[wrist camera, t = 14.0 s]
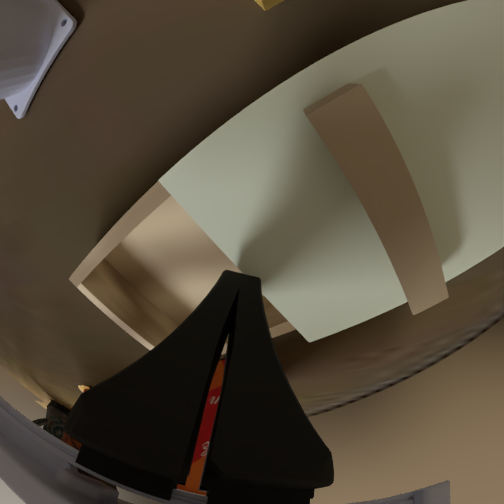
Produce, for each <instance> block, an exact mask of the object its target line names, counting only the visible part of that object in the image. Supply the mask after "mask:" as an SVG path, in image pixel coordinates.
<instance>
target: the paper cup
mask: <svg viewBox="0 0 504 504" xmlns="http://www.w3.org/2000/svg"><path fill="white" fill-rule="evenodd" d="M224 365H225V359H222V360H219V362H218V365H217V368H216V371H215V374H214V377H213V380H212V383H211V386H210V389H209V393H208V397H207V401H206V405H205V410H204V414H203V418H202V422H201V426H200V431H199V435H198V439H197V443H196V448H195V452H194V456H193V461H192V465H191V470H190V474H189V476H187V480H186V484H185V486H184V485H180V484H178V485H177V490H181V491H184V492H188V493H193V494H197V495H201V496H206V492H204V491H199V490H198V489H199V484H200V480H201V476H202V471H203V467H204V463H205V458H206V454H207V450H208V445H209V441H210V437H211V432H212V428H213V424H214V419H215V415H216V411H217V406H218V402H219V397H220V393H221V387H222V381H223V373H224Z"/></svg>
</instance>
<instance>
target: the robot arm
mask: <svg viewBox="0 0 504 504" xmlns="http://www.w3.org/2000/svg"><path fill="white" fill-rule="evenodd" d="M66 21H67V23H66ZM65 23H66V25H65ZM76 25H77V21H76V19H75V18H74V17H73V16H72V15H71V14H70V13H69V12H68V11H67V10H66V9H65V8H64V7H63V6H62V5H61V4H60V3H59V2H58V1H57V0H0V100H1V99H4V98H5V100H6V102H7V103H8V105H9V106H10V108H11V109H12V111H13V113H14V114H15V116H16V117H17V118H18V119H20V118H23V117H24V116H25V113H26V111H27V109H28V107H29V105H30V103H31V101H32V99H33V97H34V95H35V93H36V91H37V89H38V87H39V85H40V83H41V81H42V79H43V78H44V76H45V74H46V72H47V71H48V69H49V67H50V66H51V64H52V62H53V61H54V59H55V57H56V56H57V54H58V53H59V51H60V50H61V48H62V47H63V45H64V44H65V42H66V41H67V39H68V38H69V37H70V35H71V34H72V33H73V31H74V30H75V28H76ZM228 334H229V335H228ZM227 337H228V342H227V350H226V357H225V365H224V373H223V381H222V387H221V393H220V397H219V402H218V406H217V411H216V415H215V419H214V424H213V428H212V432H211V437H210V441H209V445H208V450H207V454H206V458H205V463H204V467H203V471H202V476H201V480H200V484H199V489H198V490H199V491H204V492H206V496H201V495H197V494H193V493H188V492H184V491H181V490H177V485H178V484H180V485H184V486H185V484H186V480H187V476H189V474H190V470H191V465H192V461H193V456H194V452H195V448H196V443H197V439H198V435H199V431H200V426H201V422H202V418H203V414H204V410H205V405H206V401H207V397H208V393H209V389H210V386H211V383H212V380H213V377H214V374H215V371H216V368H217V365H218V362H219V360H220V357H221V354H222V351H223V348H224V345H225V342H226V340H227ZM63 429H64V431H65V433H66V434H68V435H69V436H71V437H72V438H74V439H75V440H77V441H78V442H80V443H81V444H82V445H81V448H80V450H77V449H75V448H73V447H71V446H70V445H68V444H66V443H65V442H63V441H61V440H59V439H58V438H56V437H55V436H53V435H51V434H50V433H48V432H47V431H45V430H44V429H42V428H41V427H39V426H38V425H36V424H35V423H33V422H32V421H31V420H29V419H27V418H26V417H25V416H24V415H22V414H21V413H20V412H18V411H17V410H15V409H14V408H13V407H12V406H11V405H10V404H9V403H8V402H6V401H5V400H4V399H3V398H2V397H0V478H1V479H2V480H3V481H4V482H5V483H6V484H7V486H8V487H9V488H10V489H11V490H12V491H13V492H14V493H15V494H16V495H18V497H20V499H22V500H23V501H24V502H25V503H26V504H132V503H129V502H127V501H124V500H121V499H118V495H119V492H118V491H117V490H115V489H113V488H111V487H109V486H107V485H106V484H104V483H102V482H100V481H97V480H95V479H93V478H90V477H88V476H85V475H83V474H80V473H79V472H78V470H77V467H78V468H80V469H82V470H83V471H85V472H87V473H89V474H91V475H93V476H95V477H97V478H99V479H102V480H104V481H106V482H108V483H110V484H113V485H115V486H118V487H120V488H122V489H125V490H127V491H130V492H132V493H135V494H138V495H141V496H143V497H147V498H149V499H152V500H155V501H159V502H162V503H165V504H310V499H312V498H313V497H314V489H316V488H322V487H326V486H330V485H331V484H332V483H333V481H334V469H333V460H332V455H331V452H330V450H329V449H328V447H327V446H326V445H325V443H324V442H323V441H322V439H321V438H320V436H319V435H318V433H317V432H316V430H315V429H314V427H313V426H312V424H311V423H310V421H309V419H308V418H307V416H306V414H305V413H304V411H303V409H302V407H301V405H300V403H299V402H298V400H297V398H296V396H295V394H294V392H293V390H292V388H291V386H290V384H289V382H288V380H287V377H286V375H285V373H284V371H283V368H282V366H281V363H280V361H279V358H278V355H277V352H276V350H275V347H274V343H273V340H272V337H271V334H270V330H269V326H268V322H267V318H266V314H265V309H264V303H263V297H262V288H261V279H260V278H259V277H255V276H251V275H247V274H243V273H238V272H234V271H230V270H225V271H223V272H222V274H221V276H220V278H219V279H218V281H217V282H216V284H215V285H214V286H213V288H212V289H211V290H210V292H209V293H208V294H207V296H206V297H205V298H204V299H203V300H202V302H201V303H200V304H199V305H198V306H197V307H196V309H195V310H194V311H193V312H192V313H191V314H190V315H189V316H188V317H187V318H186V319H185V320H184V321H183V322H182V323H181V324H180V325H179V326H178V327H177V328H176V329H175V330H174V331H173V332H172V333H171V334H170V335H169V336H167V337H166V338H165V339H164V340H163V341H162V342H160V343H159V344H158V345H157V346H155V347H154V348H153V349H152V350H150V351H149V352H148V353H147V354H145V355H144V356H143V357H141V358H140V359H138V360H137V361H136V362H134V363H133V364H131V365H130V366H128V367H126V368H125V369H123V370H122V371H120V372H119V373H117V374H116V375H114V376H112V377H111V378H109V379H107V380H105V381H103V382H101V383H100V384H98V385H96V386H94V387H92V388H90V389H88V390H86V391H84V392H83V393H82V394H81V395H80V397H79V398H78V400H77V401H76V403H75V404H74V406H73V407H72V409H71V411H70V414H69V416H68V418H67V421H66V423H65V425H64V428H63ZM349 504H450V482H449V481H448V480H447V481H444V482H442V483H438V484H435V485H432V486H429V487H426V488H422V489H419V490H416V491H412V492H409V493H405V494H400V495H396V496H392V497H388V498H383V499H377V500H371V501H364V502H357V503H349Z"/></svg>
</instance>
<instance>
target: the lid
mask: <svg viewBox="0 0 504 504" xmlns="http://www.w3.org/2000/svg"><path fill="white" fill-rule="evenodd" d="M158 181H159V182H160V183H161V184H162V185H163V187H164V188H165V189H166V190H167V191H168V192H169V193H170V194H171V196H172V197H173V198H174V199H175V200H176V201H177V202H178V203H179V204H180V206H181V207H182V208H183V209H184V210H185V211H186V212H187V213H188V214H189V215H190V217H191V218H192V219H193V220H194V221H195V222H196V223H197V224H198V225H199V226H200V228H201V229H202V230H203V231H204V232H205V233H206V234H207V235H208V236H209V237H210V238H211V240H212V241H213V242H214V243H215V244H216V245H217V246H218V247H219V248H220V249H221V250H222V251H223V253H224V254H225V255H226V256H227V257H228V258H229V259H230V260H231V261H232V262H233V263H234V264H235V265H236V267H237V268H238V269H239V270H240V271H241V272H242V273H243V274H247V275H251V276H255V277H259V278H260V279H261V288H262V294H263V295H264V296H265V297H266V298H267V299H268V300H269V301H270V302H271V304H272V305H273V306H274V307H275V308H276V309H277V310H278V311H279V312H280V313H281V314H282V315H283V316H284V317H285V318H286V319H287V320H288V321H289V322H290V323H291V324H292V325H293V326H294V327H295V328H296V330H297V331H298V332H299V333H300V334H301V335H302V336H303V337H304V338H305V339H306V340H307V341H308V342H309V343H310V342H313V341H315V340H318V339H321V338H324V337H326V336H329V335H331V334H334V333H337V332H339V331H342V330H344V329H347V328H349V327H352V326H354V325H357V324H359V323H361V322H364V321H366V320H369V319H371V318H373V317H375V316H378V315H380V314H382V313H384V312H387V311H389V310H391V309H393V308H395V307H397V306H400V305H402V304H404V303H406V302H408V303H409V306H410V309H411V311H412V314H413V315H415V314H417V313H419V312H422V311H424V310H426V309H428V308H430V307H431V306H433V305H435V304H437V303H439V302H441V301H443V300H445V299H447V298H449V297H448V292H447V287H446V283H445V282H446V281H448V280H450V279H452V278H454V277H455V276H457V275H459V274H461V273H462V272H464V271H466V270H467V269H469V268H471V267H472V266H474V265H476V264H477V263H479V262H481V261H482V260H484V259H485V258H487V257H489V256H490V255H492V254H493V253H495V252H496V251H498V250H499V249H501V248H502V247H504V0H467V1H463V2H459V3H455V4H451V5H447V6H444V7H440V8H437V9H434V10H431V11H428V12H425V13H422V14H419V15H416V16H413V17H411V18H408V19H405V20H403V21H400V22H397V23H395V24H393V25H390V26H388V27H385V28H383V29H381V30H378V31H376V32H374V33H372V34H370V35H367V36H365V37H363V38H361V39H359V40H357V41H355V42H353V43H351V44H349V45H347V46H345V47H343V48H341V49H339V50H337V51H335V52H334V53H332V54H330V55H328V56H326V57H324V58H323V59H321V60H319V61H317V62H316V63H314V64H312V65H310V66H309V67H307V68H305V69H304V70H302V71H300V72H299V73H297V74H295V75H294V76H292V77H291V78H289V79H287V80H286V81H284V82H283V83H281V84H280V85H278V86H277V87H275V88H274V89H272V90H271V91H269V92H268V93H266V94H265V95H263V96H262V97H260V98H259V99H257V100H256V101H255V102H253V103H252V104H250V105H249V106H248V107H246V108H245V109H243V110H242V111H241V112H239V113H238V114H237V115H235V116H234V117H233V118H231V119H230V120H229V121H227V122H226V123H225V124H223V125H222V126H221V127H220V128H218V129H217V130H216V131H215V132H213V133H212V134H211V135H210V136H208V137H207V138H206V139H205V140H203V141H202V142H201V143H200V144H199V145H197V146H196V147H195V148H194V149H193V150H191V151H190V152H189V153H188V154H187V155H186V156H184V157H183V158H182V159H181V160H180V161H179V162H178V163H176V164H175V165H174V166H173V167H172V168H171V169H170V170H169V171H168V172H167V173H165V174H164V175H163V176H162V177H161V178H160V179H159V180H158Z"/></svg>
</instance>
